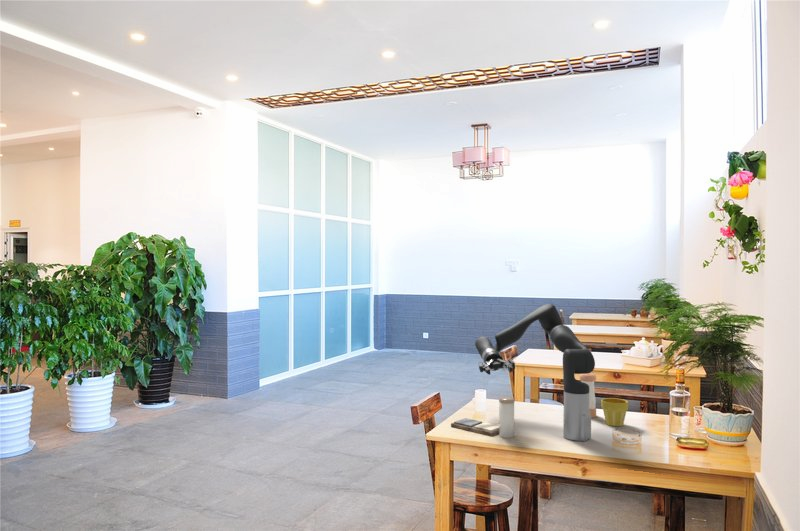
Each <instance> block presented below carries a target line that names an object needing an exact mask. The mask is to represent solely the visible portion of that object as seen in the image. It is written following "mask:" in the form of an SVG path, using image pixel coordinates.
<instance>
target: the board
mask: <svg viewBox="0 0 800 531" xmlns="http://www.w3.org/2000/svg"><path fill="white" fill-rule="evenodd" d="M450 427H452V428H454V429H455V428H456V429H460V430H465V431H469V432H473V433H477V434H482V435H486V436H491V437H493V436H495V435H497V434H498V435H499V424H495V423H491V422H490V423H489V422H487V421H485V422H483V421H481V420H480V421H479V420H476V419H471V418H467V417H463V418H460V419H457V420H456V421H453V422H451V423H450Z"/></svg>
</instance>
